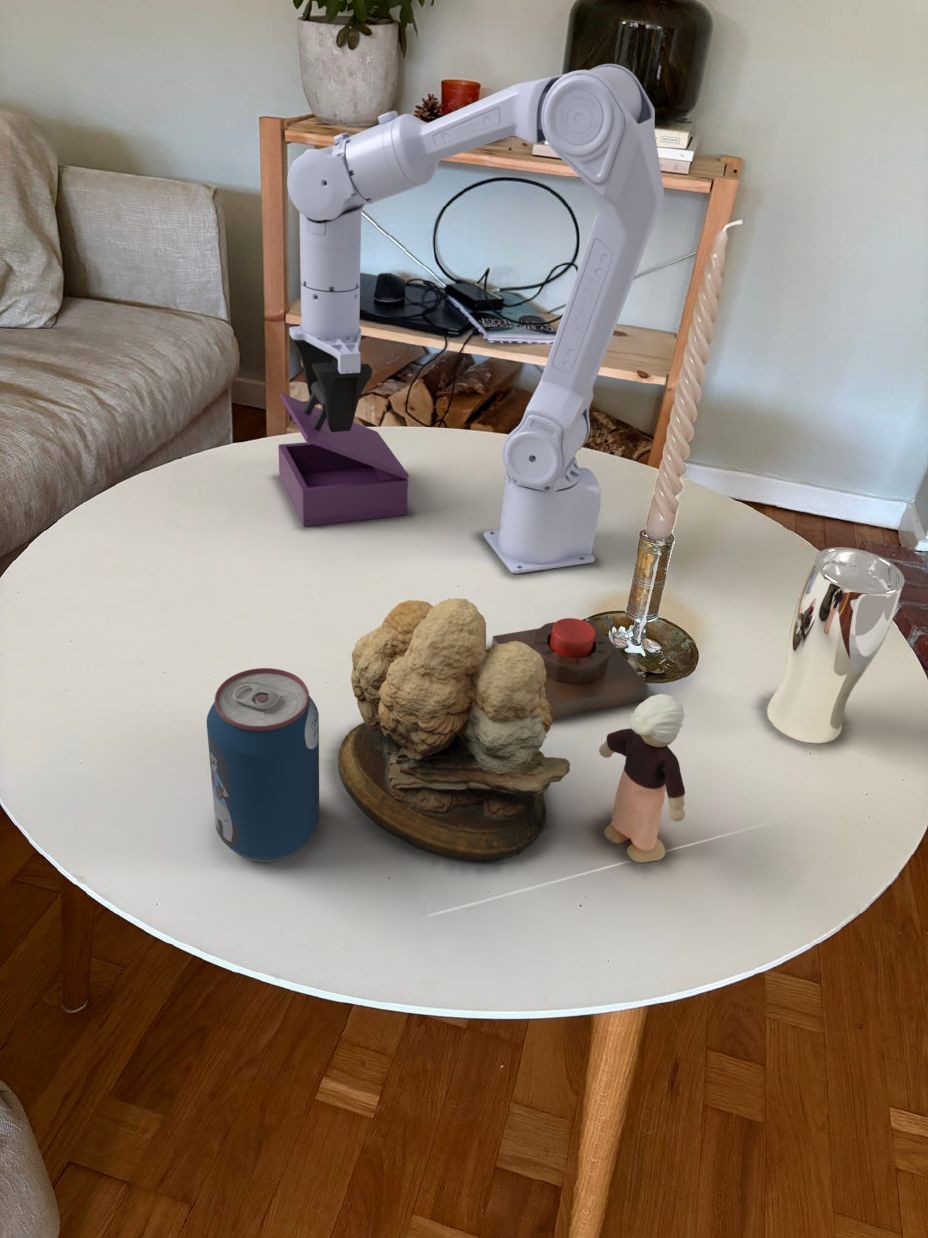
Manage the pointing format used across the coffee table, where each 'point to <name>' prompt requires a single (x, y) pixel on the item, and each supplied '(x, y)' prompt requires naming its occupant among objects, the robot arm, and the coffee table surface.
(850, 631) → the beer glass
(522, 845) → the tan rock sculpture
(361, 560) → the coffee table surface
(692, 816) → the coffee table surface
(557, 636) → the button
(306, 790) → the soda can
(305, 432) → the purple flat piece
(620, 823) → the grandmother figurine
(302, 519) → the box
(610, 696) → the button block
